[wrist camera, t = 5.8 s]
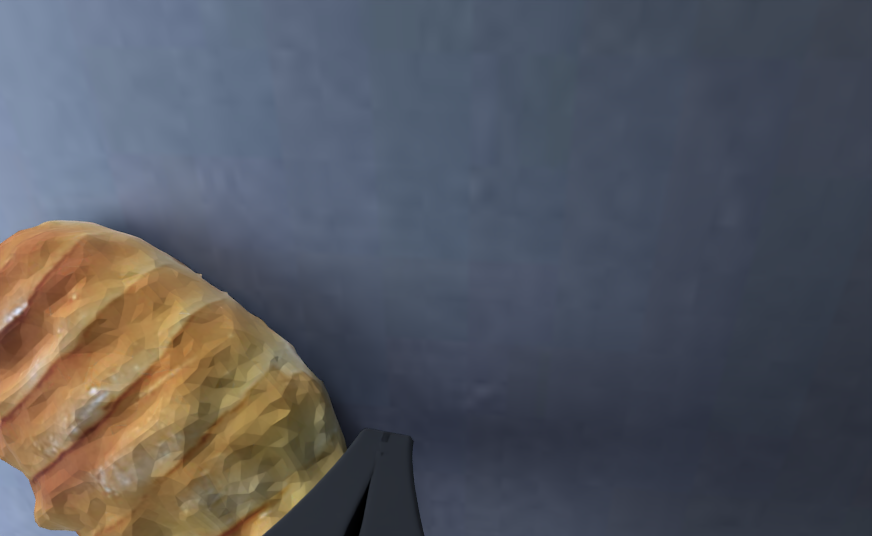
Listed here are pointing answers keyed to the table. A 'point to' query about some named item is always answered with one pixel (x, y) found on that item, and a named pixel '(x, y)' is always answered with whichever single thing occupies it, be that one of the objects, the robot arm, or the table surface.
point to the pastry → (149, 393)
